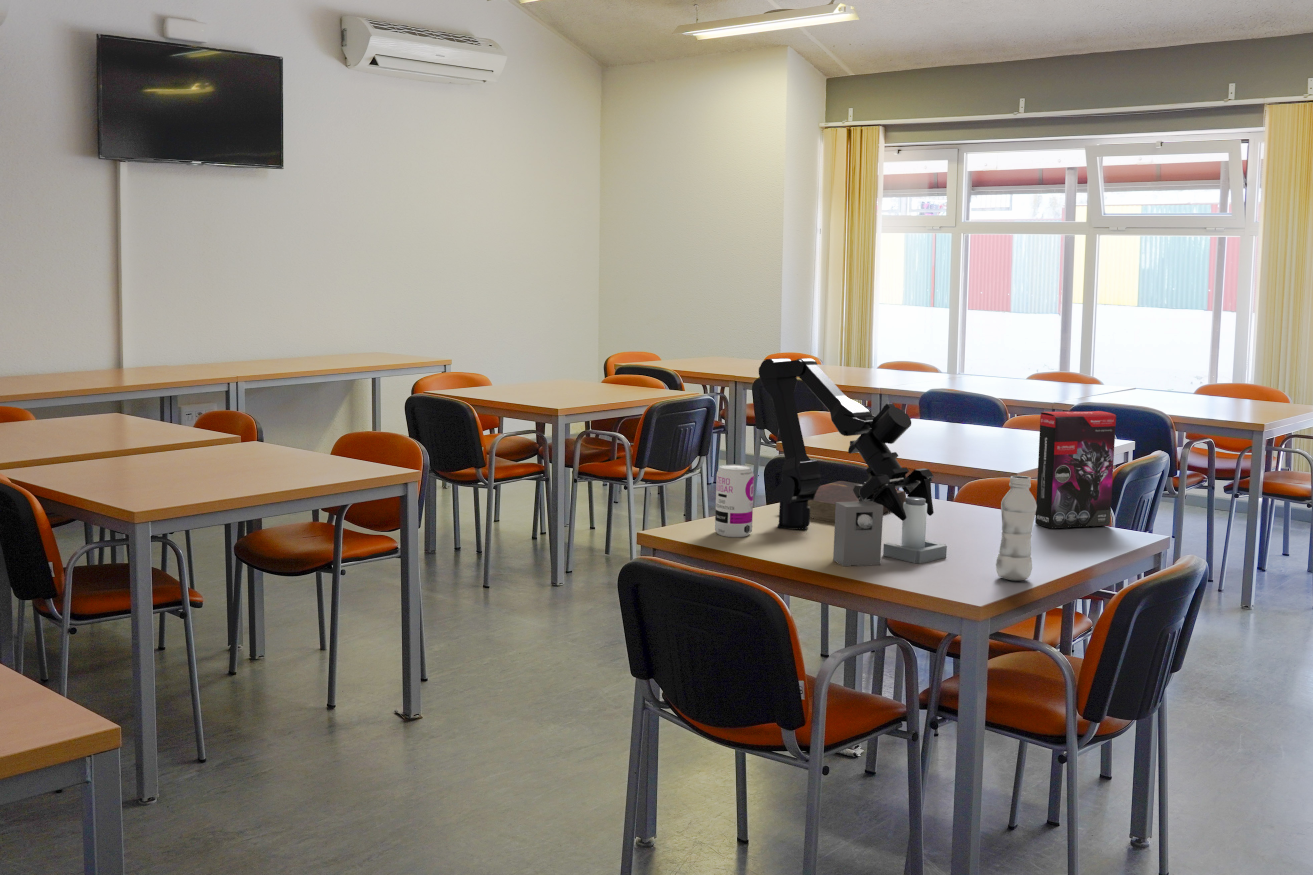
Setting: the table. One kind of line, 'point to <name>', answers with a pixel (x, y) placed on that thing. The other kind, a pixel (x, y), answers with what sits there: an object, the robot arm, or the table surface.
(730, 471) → the supplement can
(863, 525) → the plunger
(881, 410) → the robot arm
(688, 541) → the table surface
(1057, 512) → the graphics card box
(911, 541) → the cylinder
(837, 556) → the block
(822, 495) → the hardback book
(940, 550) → the cradle
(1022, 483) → the plastic bottle
